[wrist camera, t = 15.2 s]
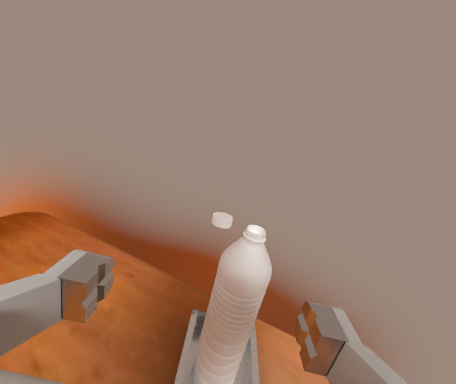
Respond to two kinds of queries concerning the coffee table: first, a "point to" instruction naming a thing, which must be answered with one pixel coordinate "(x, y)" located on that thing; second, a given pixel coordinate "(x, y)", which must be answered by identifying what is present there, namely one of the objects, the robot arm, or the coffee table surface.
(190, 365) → the keeper cradle
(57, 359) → the coffee table surface
